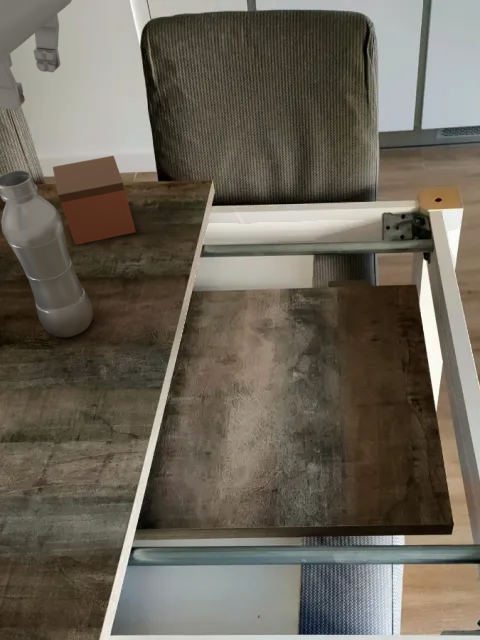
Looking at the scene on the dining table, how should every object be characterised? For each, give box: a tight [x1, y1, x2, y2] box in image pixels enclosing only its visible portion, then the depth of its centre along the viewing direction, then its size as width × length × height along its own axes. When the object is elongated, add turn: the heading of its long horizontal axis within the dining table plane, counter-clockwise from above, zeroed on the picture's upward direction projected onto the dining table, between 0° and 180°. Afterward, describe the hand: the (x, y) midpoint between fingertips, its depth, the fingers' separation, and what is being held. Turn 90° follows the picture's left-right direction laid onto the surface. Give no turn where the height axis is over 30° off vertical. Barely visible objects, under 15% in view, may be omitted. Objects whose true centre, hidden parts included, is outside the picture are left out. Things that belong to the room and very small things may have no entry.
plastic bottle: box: [0, 169, 94, 338], centre depth 77 cm, size 6×7×20 cm
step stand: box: [52, 155, 137, 246], centre depth 98 cm, size 9×9×8 cm
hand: (32, 87), depth 60 cm, fingers open, 8 cm apart
